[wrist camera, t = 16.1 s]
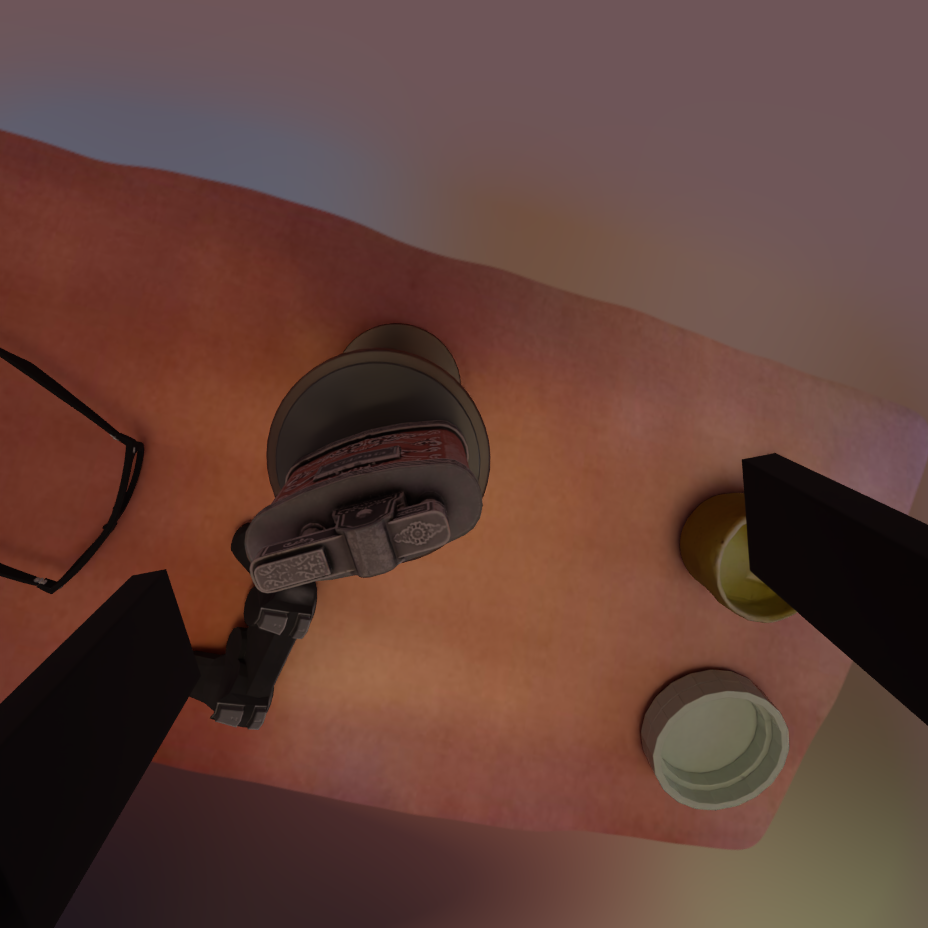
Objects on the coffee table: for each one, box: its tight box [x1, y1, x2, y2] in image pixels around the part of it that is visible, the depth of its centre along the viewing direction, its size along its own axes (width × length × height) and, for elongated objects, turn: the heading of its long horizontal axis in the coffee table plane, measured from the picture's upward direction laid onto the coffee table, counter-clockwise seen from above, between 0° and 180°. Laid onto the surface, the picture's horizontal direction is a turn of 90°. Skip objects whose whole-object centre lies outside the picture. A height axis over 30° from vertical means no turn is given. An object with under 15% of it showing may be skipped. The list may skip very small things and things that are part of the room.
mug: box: [680, 493, 797, 623], centre depth 54 cm, size 12×10×10 cm
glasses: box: [0, 348, 144, 594], centre depth 50 cm, size 17×18×5 cm
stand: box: [267, 323, 490, 563], centre depth 41 cm, size 10×10×24 cm
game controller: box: [189, 523, 317, 730], centre depth 54 cm, size 16×7×10 cm, turn 154°
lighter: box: [244, 420, 483, 593], centre depth 24 cm, size 8×3×10 cm, turn 105°
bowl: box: [641, 669, 789, 810], centre depth 61 cm, size 12×12×4 cm
